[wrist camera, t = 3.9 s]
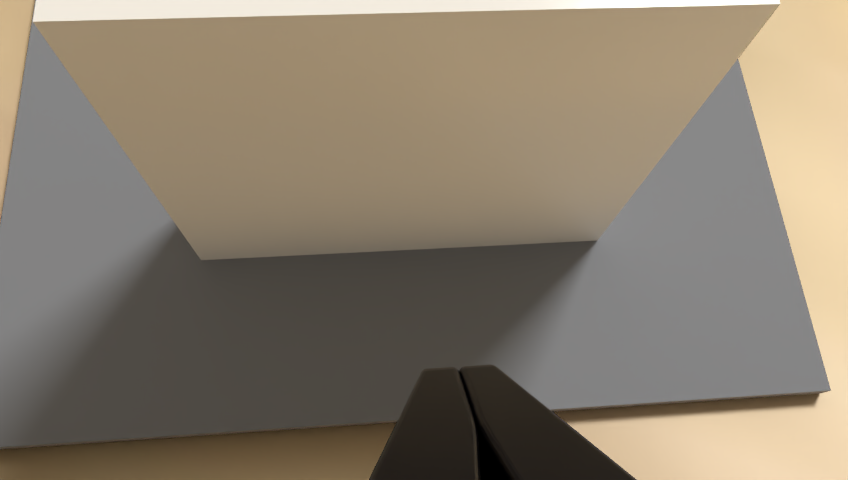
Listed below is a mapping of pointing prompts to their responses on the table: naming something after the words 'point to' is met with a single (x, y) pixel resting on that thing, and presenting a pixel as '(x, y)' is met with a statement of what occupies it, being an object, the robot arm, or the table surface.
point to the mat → (378, 297)
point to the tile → (395, 112)
